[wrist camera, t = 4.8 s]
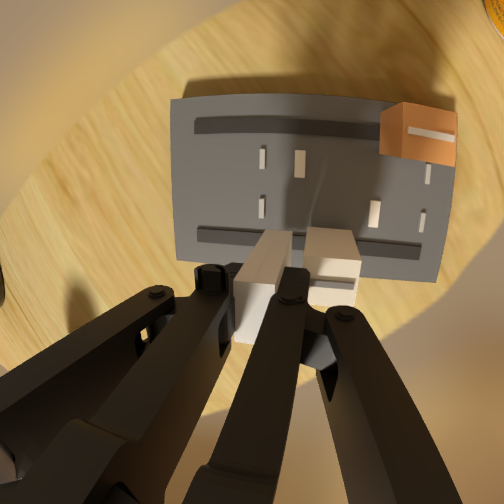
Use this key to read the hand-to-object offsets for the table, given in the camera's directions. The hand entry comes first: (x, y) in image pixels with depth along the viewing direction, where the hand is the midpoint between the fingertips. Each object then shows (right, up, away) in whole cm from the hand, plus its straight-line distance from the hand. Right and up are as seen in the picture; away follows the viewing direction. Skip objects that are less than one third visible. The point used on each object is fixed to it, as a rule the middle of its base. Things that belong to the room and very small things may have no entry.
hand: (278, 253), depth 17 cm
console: (+2, +4, +2) cm, 5 cm away
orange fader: (+7, +7, -2) cm, 10 cm away
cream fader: (+3, 0, +1) cm, 3 cm away
